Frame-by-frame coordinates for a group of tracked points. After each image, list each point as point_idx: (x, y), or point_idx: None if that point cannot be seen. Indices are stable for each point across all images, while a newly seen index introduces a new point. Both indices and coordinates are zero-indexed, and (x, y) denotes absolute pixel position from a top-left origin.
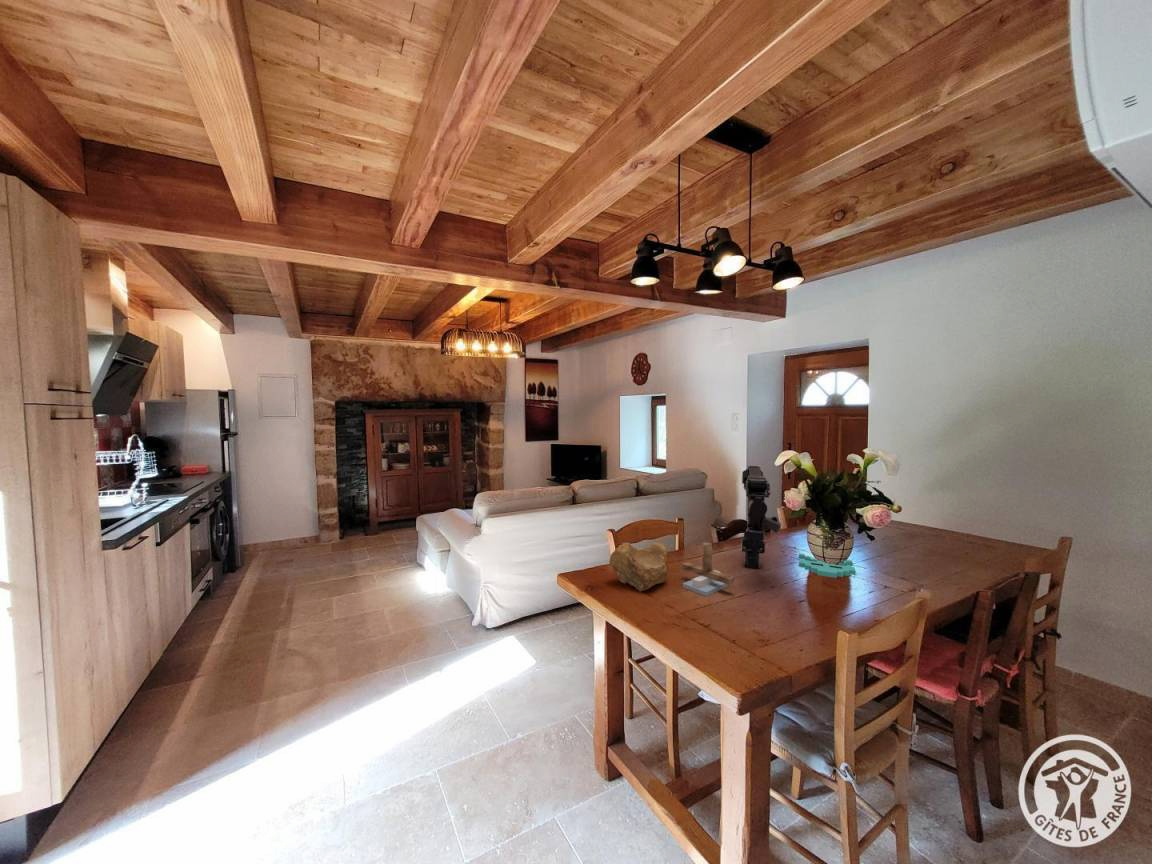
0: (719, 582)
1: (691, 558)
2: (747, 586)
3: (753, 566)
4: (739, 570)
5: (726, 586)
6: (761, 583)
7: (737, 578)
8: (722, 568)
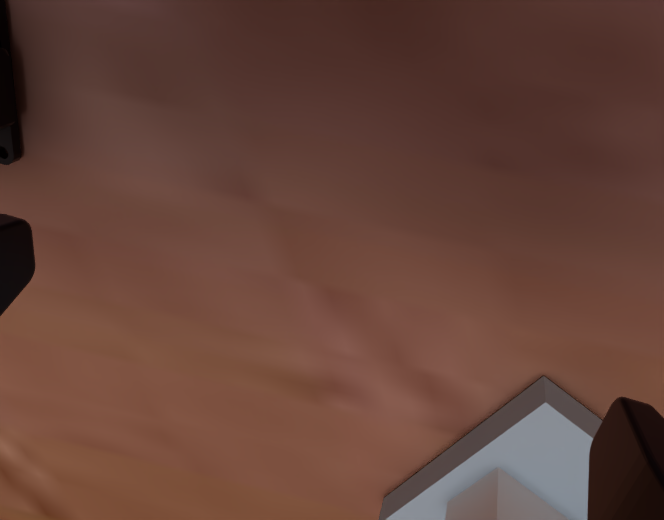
0: None
1: (39, 498)
2: (570, 230)
3: (6, 67)
4: (132, 215)
5: None
6: (448, 49)
7: (355, 279)
8: (145, 347)
